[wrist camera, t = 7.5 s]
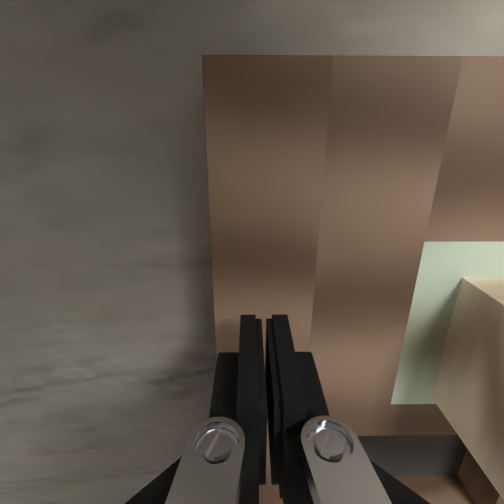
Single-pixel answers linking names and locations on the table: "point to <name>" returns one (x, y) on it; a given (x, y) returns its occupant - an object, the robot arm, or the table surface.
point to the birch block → (476, 374)
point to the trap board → (360, 233)
